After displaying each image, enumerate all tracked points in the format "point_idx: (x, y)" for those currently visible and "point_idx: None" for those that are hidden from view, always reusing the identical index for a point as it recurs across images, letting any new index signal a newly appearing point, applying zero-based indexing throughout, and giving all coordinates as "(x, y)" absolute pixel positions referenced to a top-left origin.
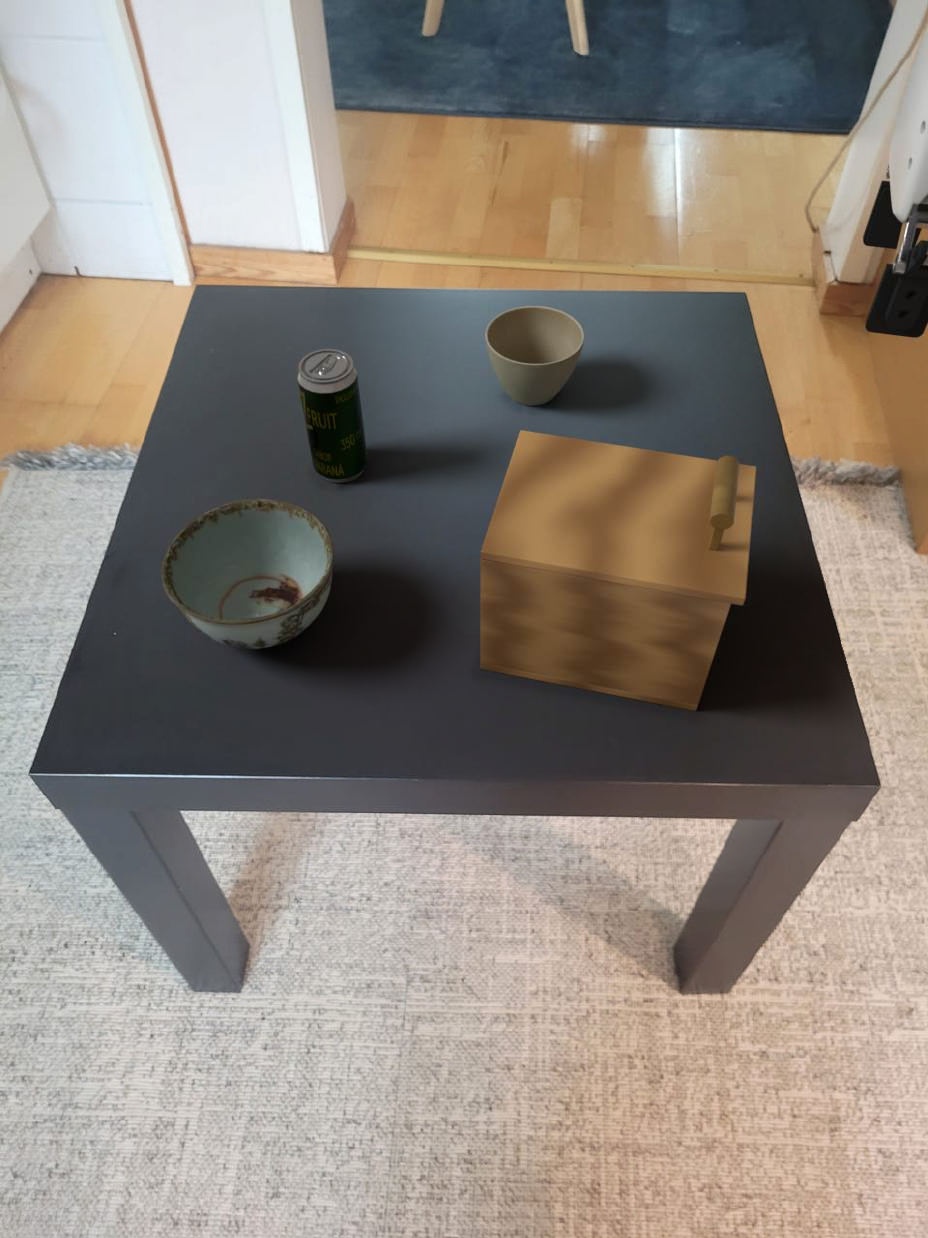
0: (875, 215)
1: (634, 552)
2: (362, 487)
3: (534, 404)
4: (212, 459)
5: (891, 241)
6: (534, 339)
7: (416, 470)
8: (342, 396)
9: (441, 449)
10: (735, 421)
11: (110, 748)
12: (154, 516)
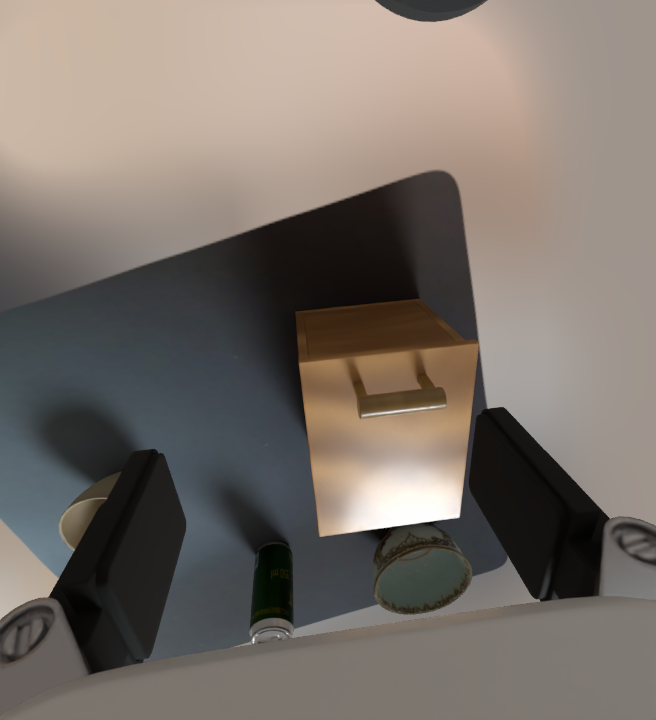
0: (170, 585)
1: (440, 431)
2: (287, 535)
3: None
4: (296, 603)
5: (171, 498)
6: (87, 516)
7: (257, 517)
8: (284, 613)
9: (229, 512)
10: (68, 328)
11: (495, 550)
12: (350, 603)
